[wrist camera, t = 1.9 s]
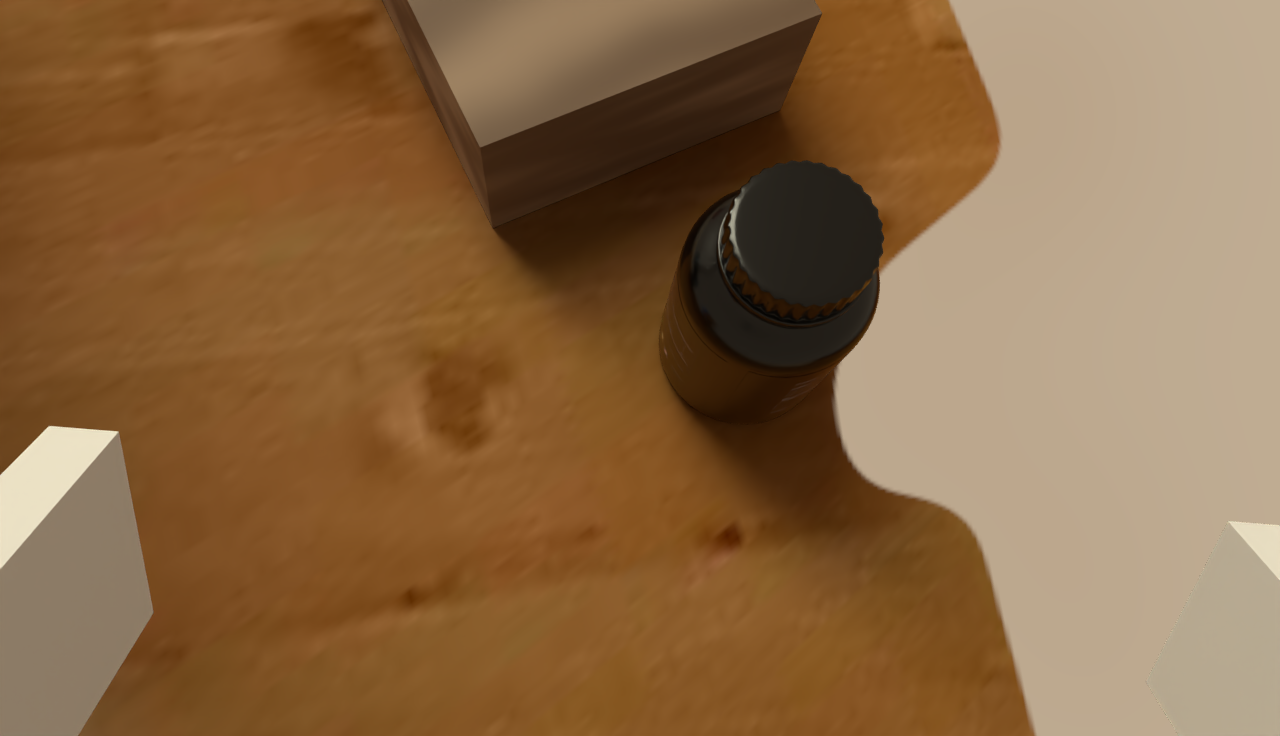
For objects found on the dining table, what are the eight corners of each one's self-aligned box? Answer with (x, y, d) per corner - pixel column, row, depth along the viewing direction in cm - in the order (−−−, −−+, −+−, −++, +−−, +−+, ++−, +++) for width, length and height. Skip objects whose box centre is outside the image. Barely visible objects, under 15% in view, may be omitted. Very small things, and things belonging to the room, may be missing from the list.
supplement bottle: (805, 266, 41) (903, 124, 29) (828, 421, 39) (942, 335, 28) (646, 275, 40) (683, 133, 29) (663, 433, 38) (709, 350, 27)
